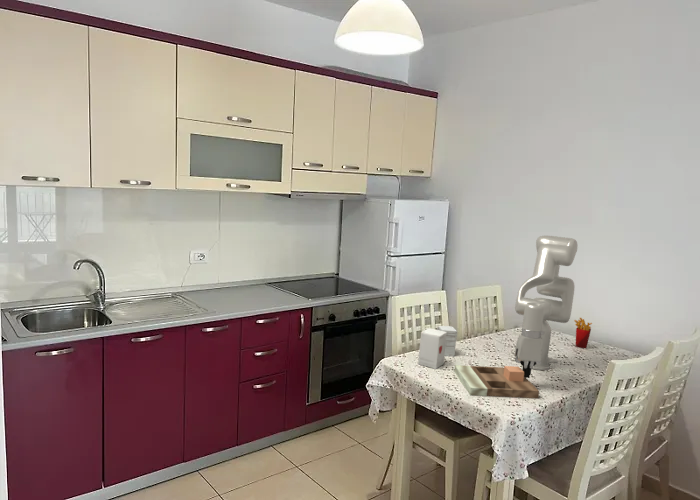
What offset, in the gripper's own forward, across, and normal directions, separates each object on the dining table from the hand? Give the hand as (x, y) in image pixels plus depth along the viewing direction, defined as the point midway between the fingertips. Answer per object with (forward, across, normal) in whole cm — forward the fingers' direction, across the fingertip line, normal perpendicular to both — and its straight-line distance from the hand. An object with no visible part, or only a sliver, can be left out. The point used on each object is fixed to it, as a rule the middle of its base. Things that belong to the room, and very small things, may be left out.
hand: (525, 376), depth 212 cm
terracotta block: (+1, +5, 0) cm, 5 cm away
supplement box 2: (+4, +25, -35) cm, 43 cm away
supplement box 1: (+4, +35, -20) cm, 40 cm away
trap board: (+4, +13, 0) cm, 14 cm away
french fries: (+4, -53, -57) cm, 77 cm away
